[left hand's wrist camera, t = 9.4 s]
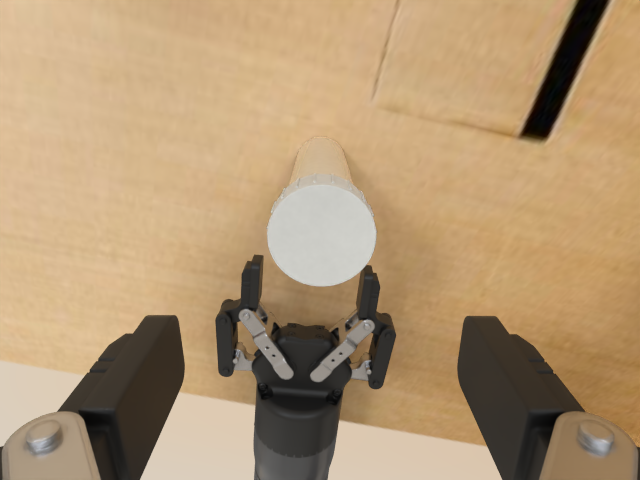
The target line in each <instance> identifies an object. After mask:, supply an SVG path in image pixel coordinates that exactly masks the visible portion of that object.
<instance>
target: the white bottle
mask: <svg viewBox="0 0 640 480" xmlns="http://www.w3.org/2000/svg"><path fill="white" fill-rule="evenodd" d="M314 173H316V174H329V175H331V174H334V175H335V176H338V177H341V178H343V179H345V180H350V183H352V184H353V181H352V177H351V174H350V171H349V167H348V164H347V161H346V157H345V154H344V151H343V149H342V148H341V146H340V145H339V144H338V143H337V142H336V141H334V140H333V139H330V138H327V137H315V138H312V139H310V140H308V141H306V142H305V143H304V144H303V145H302V146H301V148H300V149H299V152H298V155H297V158H296V162H295V165H294V169H293V172H292V176H291V179H290V183H289V185H290V184H292V183H293V182H295V181H296V180H297V178H303V177H305V176H309V175H313V174H314ZM353 185H354V184H353Z"/></svg>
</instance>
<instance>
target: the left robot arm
mask: <svg viewBox="0 0 640 480" xmlns="http://www.w3.org/2000/svg"><path fill="white" fill-rule="evenodd" d="M457 369H458V379H459V383H460V386H461V389H462V391H463V393H464V395H465V398H466V400H467V402H468V404H469V406H470V409H471V411H472V413H473V415H474V418H475V420H476V422H477V424H478V426H479V429H480V431H481V433H482V435H483V438H484V440H485V442H486V444H487V446H488V449H489V451H490V453H491V455H492V458H493V460H494V462H495V464H496V466H497V469H498V471H499V473H500V475H501V477H502V480H640V447H636V445H635V443H634V441H633V440H632V439H631V438H630V436H629V435H628V434H627V433H626V432H625V431H623V430H622V429H621V428H620V427H618V426H617V425H615V424H614V423H612V422H610V421H608V420H606V419H604V418H602V417H600V416H597V415H594V414H590V413H586V412H585V411H584V409H583V408H582V407H581V406H580V404H579V403H578V402H577V400H576V399H575V398H574V397H573V395H572V394H571V393H570V392H569V390H568V389H567V388H566V387H565V385H564V384H563V383H562V381H561V380H560V379H559V378H558V376H557V375H556V374H554V373H553V370H552V369H551V367H550V366H549V365H548V364H547V362H544V359H543V357H542V356H541V355H540V353H539V352H538V351H537V350H536V348H535V347H534V346H533V345H531V344H530V343H528V342H527V341H526V340H524V339H523V338H521V337H520V336H518V335H517V334H509V333H508V332H507V330H506V329H505V328H504V326H503V325H502V323H501V322H500V321H499V319H498V318H497V317H496V316H467V317H466V318H465V319H464V323H463V329H462V336H461V343H460V350H459V357H458V366H457ZM184 370H185V363H184V355H183V348H182V341H181V334H180V327H179V321H178V318H177V317H176V316H175V315H148V316H146V317H145V318H144V319H143V321H142V322H141V323H140V325H139V326H138V328H137V329H136V330H135V332H134V333H133V334H124V335H123V336H122V337H120V338H119V339H117V340H116V341H114V342H113V343H111V344H110V345H109V346H108V347H107V348H106V350H105V351H104V352H103V353H102V355H101V356H100V357H99V360H98V361H96V362H95V364H94V365H93V366H92V368H91V369H90V372H89V373H87V374H86V375H85V377H84V378H83V379H82V380H81V382H80V383H79V384H78V386H77V387H76V388H75V389H74V391H73V392H72V393H71V395H70V396H69V397H68V398H67V400H66V401H65V402H64V404H63V405H62V406H61V407H60V409H59V410H58V411H57V412H54V413H50V414H46V415H43V416H40V417H38V418H36V419H34V420H32V421H30V422H28V423H26V424H25V425H23V426H22V427H20V428H19V429H18V430H17V431H16V432H14V433H13V434H12V435H11V436H10V438H9V439H8V440H7V441H6V443H5V445H4V446H2V447H0V480H140V478H141V476H142V474H143V471H144V469H145V467H146V465H147V462H148V460H149V458H150V456H151V453H152V451H153V449H154V447H155V444H156V442H157V440H158V438H159V435H160V433H161V431H162V429H163V426H164V424H165V422H166V420H167V417H168V415H169V413H170V411H171V408H172V406H173V404H174V402H175V399H176V397H177V395H178V393H179V390H180V388H181V386H182V383H183V378H184Z"/></svg>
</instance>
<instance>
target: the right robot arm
mask: <svg viewBox="0 0 640 480" xmlns="http://www.w3.org/2000/svg"><path fill="white" fill-rule="evenodd" d="M262 275H263V255H254V257H253V260H252V261H247V263H246V265H245V268H244V270H243V273H242V284H241V285H242V286H241V299H239V300H235V301H233V300H231V299H227V300H225V301H223V303H222V305H221V309H220V312H219V314H218V315H217V317H216V337H217V353H218V369H219V373H220V375H222V376H224V377H229V376H231V375H232V374H233V371H234V370H251V371H252V372H253V373H254V375H255V377H256V380H257V389H256V407H255V423H254V425H255V427H254V456H255V474H254V480H327V479H328V472H329V467H330V464H331V461H332V458H333V454H334V449H335V443H336V436H337V430H338V423H339V416H340V409H341V403H342V396H343V390H344V387H345V385H346V384H347V382H348V381H349V380H350V379H358V380H366V381H368V382H369V386H370V387H371V388H372V389H379V388H381V387H382V386H383V383H384V379H385V375H386V371H387V368H388V364H389V360H390V356H391V353H392V349H393V345H394V342H395V338H396V333H395V329H394V326H393V322H392V319H391V316H390V315H389V314H387V313H382V314H381V313H378V312H377V311H376V309H377V303H378V297H379V291H380V285H379V281H378V277H377V274H376V273H373V271H372V267H371V266H370V265H366V266H365V267H364V268H363V269H362V270H361V274H360V281H359V287H358V294H357V301H356V306H357V309H356V310H355V311H354V312H352V313H351V314H350V315H349V316H348V317H347V318H346V319H344V318H343V319H341V320H340V321H339V322H338V323H337V324H335V325H334V326H333V327H332V328H331V329H330V330H329V331H328V330H326V329H324V326H318V325H314V326H307V327H306V326H302V325H299V324H295V323H288V325H287V326H283V327H282V326H281V324H280V323H279V322H278V320H277V319H276V318H275V316H274V315H273V314H272V313H271V312H268V311H267V310H266V309H265V307H264V306H263V305H262V303H261V302H260V298H261V293H262ZM239 321H242V323H243V324H244V325H245V327H246V328H247V329H248V330H249V332H250V333H251V334H252V336H253V340H254V342H255V344H256V345H257V346H258V348H259V349H258V350H257V351H256V352H255V354H254V355H251V354H249V353H248V352H247V351H246V348H245V346H244V345H243V343H242V342H238V329H237V322H239ZM370 333H373V338H372V342H371V346H370V350H369V353H367V352H365V353H364V354H363V356H361V358H360V360H359V361H358V362H356V363H351V361H350V359H349V357H348V356H349V355H351V354H352V353H353V352H354V351H355V349H356V347H357V345H358V343H359V342H361V341H362V340H363V339H364V338H365V337H366V336H367V335H369V334H370Z"/></svg>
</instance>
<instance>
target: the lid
mask: <svg viewBox="0 0 640 480" xmlns="http://www.w3.org/2000/svg"><path fill="white" fill-rule="evenodd" d="M271 213H272V215H271V217H270V219H269V222H268V225H267V229H268V230H267V241H268V247H269V250H270V253H271V255H272V258H273V259H274V261H275V263H276V264H277V265H278V267H279V268H280V269H281V270H282V271H283V272H284V273H285V274H287V275H288V276H289V277H291V278H292V279H294V280H296V281H298V282H301V283H303V284H307V285H311V286H321V287H324V286H332V285H337V284H340V283H343V282H345V281H347V280H349V279H351V278H353V277H354V276H355V275H357V274H358V273H359V272H360V271H361V270H362V269H363V268H364V267H365V266H366V264H367V263H368V262H369V260H370V258H371V256H372V254H373V251H374V248H375V244H376V233H377V230H376V227H375V222H374V219H373V217H374V214H373V211H372V209H371V206H370V205H368V203H367V201H366V199H365V197H364V195H363V192H362V191H359V190H358V188H357V187H355V186H354V185H353V184H352V183H350V180H345V179H343V178H341V177H338V176H335V175H334V174H331V175H329V174H316V173H314V174H313V175H309V176H305V177H303V178H297V180H296V181H295V182H293V183H292V184H290V185H289V186H288V187H287V188H284V189H283V192H282V193H281V195H280V196H279V198H278V199H277V201H275V202H274V204H273V207H272V210H271Z"/></svg>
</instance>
